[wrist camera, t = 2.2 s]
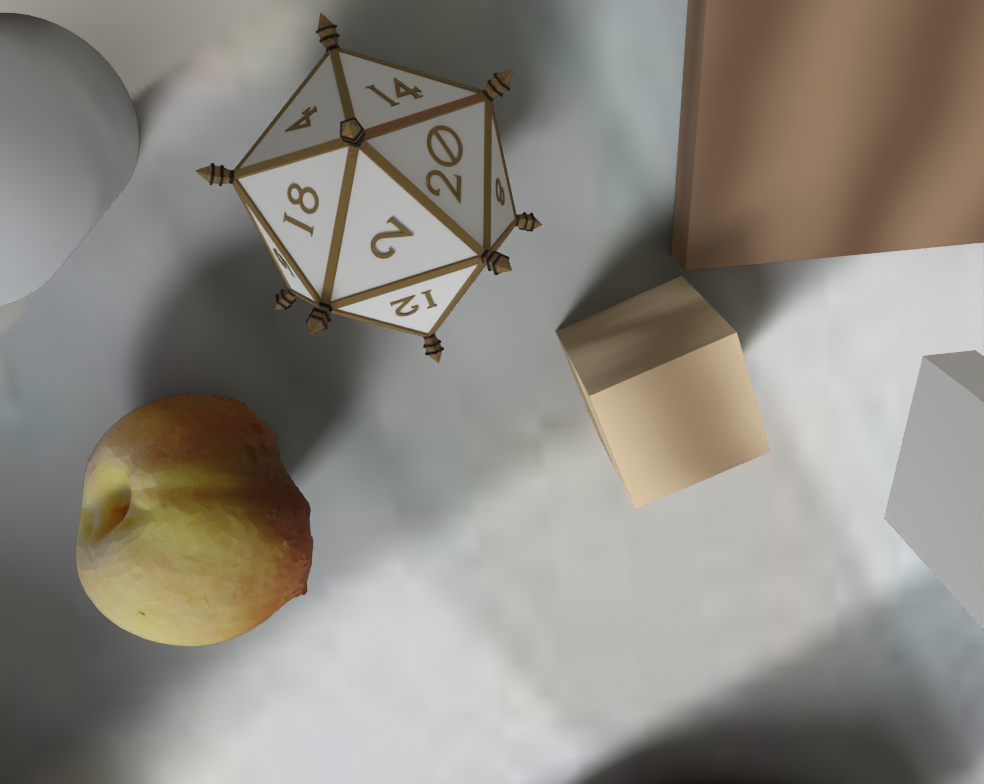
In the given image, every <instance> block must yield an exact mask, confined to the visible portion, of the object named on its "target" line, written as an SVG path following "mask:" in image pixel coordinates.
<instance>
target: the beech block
mask: <svg viewBox="0 0 984 784" xmlns="http://www.w3.org/2000/svg"><path fill="white" fill-rule="evenodd" d="M556 334H557V336H558V339H559V341H560V344H561V346H562V348H563V351H564V353H565V356H566V358H567V361H568V363H569V365H570V368H571V370H572V373H573V375H574V378H575V380H576V382H577V385H578V387H579V390H580V392H581V395H582V397H583V400H584V402H585V404H586V407H587V409H588V412H589V414H590V417H591V419H592V421H593V424H594V426H595V429H596V431H597V434H598V436H599V438H600V440H601V442H602V444H603V446H604V448H605V450H606V452H607V454H608V456H609V458H610V460H611V462H612V464H613V466H614V468H615V470H616V472H617V474H618V476H619V478H620V480H621V482H622V484H623V486H624V488H625V490H626V492H627V494H628V496H629V498H630V500H631V502H632V504H633V506H634V508H635V509H636V508H639V507H641V506H643V505H646V504H648V503H650V502H653V501H655V500H658V499H660V498H662V497H665V496H667V495H669V494H672V493H674V492H676V491H679V490H681V489H684V488H686V487H688V486H691V485H693V484H695V483H698V482H700V481H702V480H705V479H707V478H710V477H712V476H714V475H717V474H719V473H721V472H724V471H726V470H728V469H731V468H733V467H736V466H738V465H740V464H743V463H745V462H747V461H750V460H752V459H754V458H757V457H759V456H762V455H764V454H766V453H769V452H770V448H769V445H768V441H767V438H766V434H765V431H764V427H763V423H762V420H761V416H760V413H759V409H758V406H757V402H756V398H755V395H754V391H753V388H752V384H751V381H750V377H749V373H748V370H747V366H746V363H745V359H744V356H743V352H742V349H741V345H740V341H739V338H738V334H737V332H736V331H735V330H734V329H733V328H732V327H731V326H730V325H729V323H728V322H727V321H726V320H725V319H724V318H723V317H722V316H721V315H720V314H719V313H718V312H717V311H716V310H715V309H714V308H713V307H712V306H711V305H710V304H709V303H708V302H707V301H706V300H705V299H704V298H703V297H702V296H701V294H700V293H699V292H698V291H697V290H696V289H695V288H694V287H693V286H692V285H691V284H690V283H689V282H688V281H687V280H686V279H685V278H684V277H683V276H680V277H677V278H675V279H673V280H671V281H668V282H666V283H664V284H662V285H659V286H657V287H655V288H652V289H650V290H648V291H646V292H643V293H641V294H639V295H637V296H634V297H632V298H630V299H627V300H625V301H623V302H621V303H618V304H616V305H614V306H612V307H609V308H607V309H605V310H603V311H600V312H598V313H596V314H593V315H591V316H589V317H587V318H584V319H582V320H580V321H578V322H575V323H573V324H571V325H569V326H566V327H564V328H562V329H559V330H557V331H556Z"/></svg>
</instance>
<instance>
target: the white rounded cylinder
mask: <svg viewBox="0 0 984 784" xmlns="http://www.w3.org/2000/svg"><path fill="white" fill-rule="evenodd" d="M138 151H139V128H138V122H137V116H136V113H135V110H134V106H133V103H132V101H131V98H130V96H129V94H128V92H127V90H126V88H125V86H124V84H123V83H122V81H121V79H120V77H119V76H118V75H117V73H116V72H115V71H114V69H113V68H112V67H111V65H110V64H109V63H108V62H107V61H106V60H105V59H104V58H103V57H102V56H101V54H100V53H99V52H98V51H96V50H95V49H94V48H93V47H92V46H91V45H89V44H88V43H87V42H86V41H84V40H83V39H81V38H80V37H78V36H77V35H75V34H74V33H72V32H70V31H69V30H67V29H65V28H63V27H61V26H59V25H57V24H54V23H52V22H49V21H47V20H44V19H41V18H37V17H33V16H30V15H23V14H16V13H0V306H3V305H6V304H10V303H12V302H14V301H17V300H19V299H21V298H24V297H26V296H27V295H29V294H31V293H32V292H34V291H35V290H37V289H39V288H40V287H41V286H42V285H43V284H44V283H46V282H47V281H48V280H49V279H50V278H51V277H52V276H53V275H54V273H55V272H56V271H57V270H58V269H59V268H60V266H61V265H62V264H63V263H64V262H65V260H66V259H67V258H68V257H69V255H70V254H71V253H72V252H73V251H74V249H75V248H76V247H77V246H78V244H79V243H80V242H81V241H82V240H83V238H84V237H85V236H86V235H87V233H88V232H89V231H90V230H91V229H92V227H93V226H94V225H95V224H96V222H97V221H98V220H99V219H100V218H101V216H102V215H103V214H104V213H105V211H106V210H107V209H108V208H109V207H110V205H111V204H112V203H113V202H114V200H115V199H116V198H117V197H118V196H119V194H120V193H121V192H122V191H123V189H124V188H125V186H126V185H127V183H128V182H129V180H130V178H131V176H132V173H133V171H134V169H135V165H136V161H137V158H138Z"/></svg>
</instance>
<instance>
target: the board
mask: <svg viewBox="0 0 984 784" xmlns="http://www.w3.org/2000/svg"><path fill="white" fill-rule="evenodd" d="M983 242H984V0H688V11H687V25H686V40H685V55H684V70H683V84H682V99H681V114H680V129H679V144H678V158H677V173H676V188H675V203H674V217H673V232H672V247H671V257H672V258H673V259H674V260H675V261H676V262H677V263H678V264H679V265H680V266H681V267H682V268H683V269H684V270H685V271H692V270H702V269H713V268H723V267H734V266H744V265H754V264H765V263H775V262H786V261H796V260H806V259H817V258H827V257H837V256H848V255H858V254H869V253H879V252H889V251H900V250H910V249H920V248H931V247H941V246H952V245H962V244H972V243H983Z"/></svg>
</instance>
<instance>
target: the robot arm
mask: <svg viewBox="0 0 984 784" xmlns="http://www.w3.org/2000/svg"><path fill="white" fill-rule="evenodd" d="M884 519H885V520H886V521H887V522H888V523H889V524H890V525H891V526H892V528H893V529H894V530H895V531H896V532H897V533H898V534H899V535H900V536H901V538H902V539H903V540H904V541H905V542H906V543H907V544H908V545H909V547H910V548H911V549H912V550H913V551H914V552H915V553H916V554H917V555H918V557H919V558H920V559H921V560H922V561H923V562H924V563H925V564H926V565H927V567H928V568H929V569H930V570H931V571H932V572H933V573H934V574H935V576H936V577H937V578H938V579H939V580H940V581H941V582H942V583H943V584H944V586H945V587H946V588H947V589H948V590H949V591H950V592H951V593H952V594H953V596H954V597H955V598H956V599H957V600H958V601H959V602H960V603H961V605H962V606H963V607H964V608H965V609H966V610H967V611H968V612H969V613H970V615H971V616H972V617H973V618H974V619H975V620H976V621H977V622H978V623H979V625H980V626H981V627H982V628H983V629H984V356H983V355H981V354H980V353H978V352H977V351H975V350H974V351H965V352H956V353H946V354H937V355H928V356H923V358H922V362H921V366H920V370H919V374H918V379H917V383H916V387H915V391H914V395H913V400H912V404H911V408H910V412H909V416H908V420H907V425H906V429H905V433H904V437H903V441H902V446H901V450H900V454H899V458H898V462H897V467H896V471H895V475H894V479H893V483H892V488H891V492H890V496H889V500H888V504H887V508H886V513H885V517H884Z"/></svg>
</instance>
